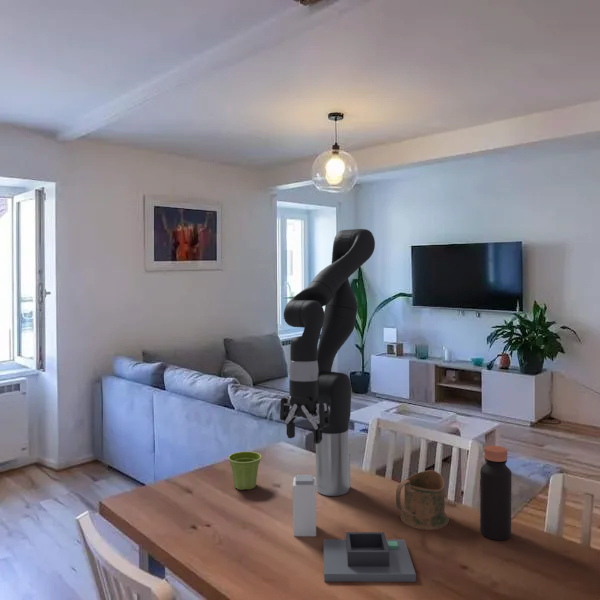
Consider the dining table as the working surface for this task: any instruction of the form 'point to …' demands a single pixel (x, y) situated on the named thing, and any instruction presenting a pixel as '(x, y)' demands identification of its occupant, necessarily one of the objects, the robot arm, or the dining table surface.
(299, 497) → the grey tall block
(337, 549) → the dock
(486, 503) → the bottle
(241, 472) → the plant pot
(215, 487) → the dining table surface
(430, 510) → the mug
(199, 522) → the dining table surface
